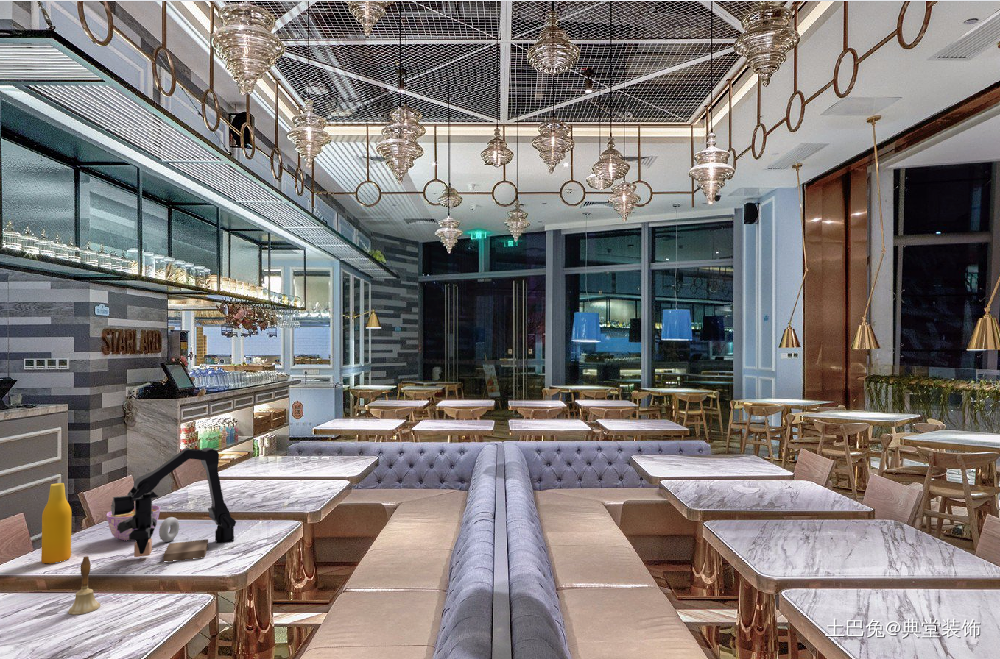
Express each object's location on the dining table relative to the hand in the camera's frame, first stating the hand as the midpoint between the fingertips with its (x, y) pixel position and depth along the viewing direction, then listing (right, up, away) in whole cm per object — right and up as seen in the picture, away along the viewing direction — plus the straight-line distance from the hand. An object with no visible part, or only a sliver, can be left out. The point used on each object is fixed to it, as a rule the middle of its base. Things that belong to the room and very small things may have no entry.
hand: (143, 551), depth 230 cm
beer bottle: (-33, -3, -1) cm, 33 cm away
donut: (-1, -4, +21) cm, 21 cm away
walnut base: (+14, -3, +4) cm, 15 cm away
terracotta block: (0, -1, 0) cm, 1 cm away
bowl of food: (-19, -4, +26) cm, 32 cm away
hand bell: (+9, -1, -45) cm, 46 cm away
